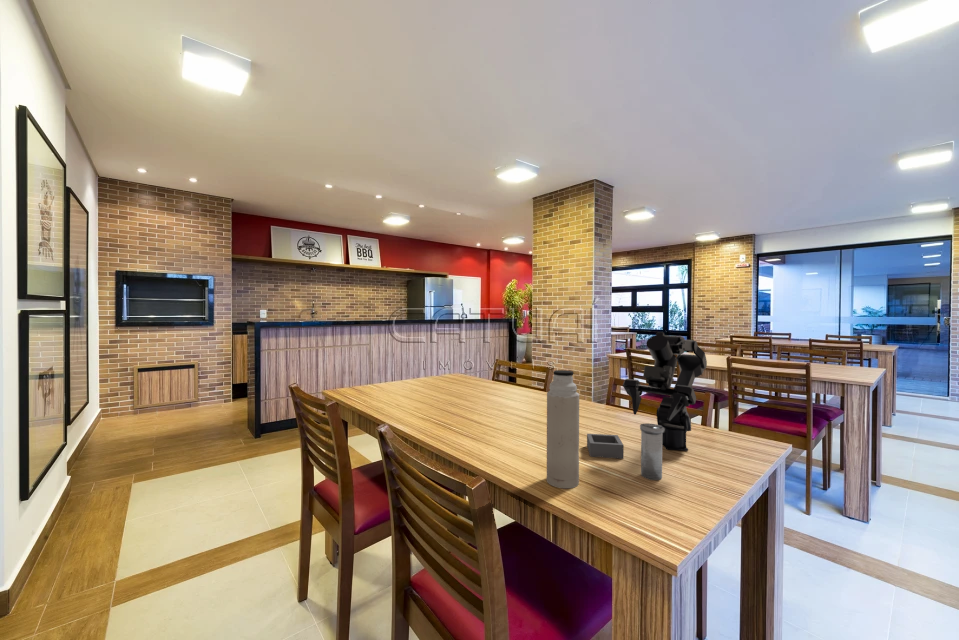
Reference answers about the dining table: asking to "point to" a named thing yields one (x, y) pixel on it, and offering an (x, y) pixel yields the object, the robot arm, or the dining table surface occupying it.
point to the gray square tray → (605, 446)
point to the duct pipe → (651, 451)
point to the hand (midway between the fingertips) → (650, 416)
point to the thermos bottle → (563, 431)
